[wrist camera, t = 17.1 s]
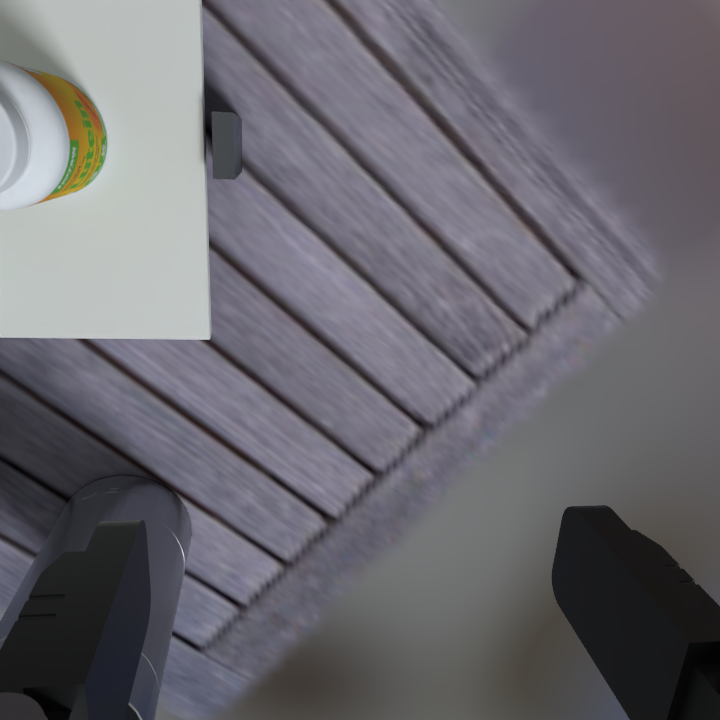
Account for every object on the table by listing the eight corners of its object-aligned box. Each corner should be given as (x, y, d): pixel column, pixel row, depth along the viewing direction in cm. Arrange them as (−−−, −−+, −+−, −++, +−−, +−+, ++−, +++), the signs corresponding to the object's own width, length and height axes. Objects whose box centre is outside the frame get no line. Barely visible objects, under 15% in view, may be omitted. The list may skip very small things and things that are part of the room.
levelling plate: (211, 333, 34) (206, 349, 31) (-62, 330, 32) (-91, 347, 29) (198, -93, 27) (191, -116, 25) (-151, -132, 25) (-197, -162, 23)
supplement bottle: (113, 199, 30) (45, 228, 21) (-6, 189, 29) (-129, 215, 20) (108, 79, 28) (32, 54, 19) (-19, 65, 27) (-162, 32, 18)
